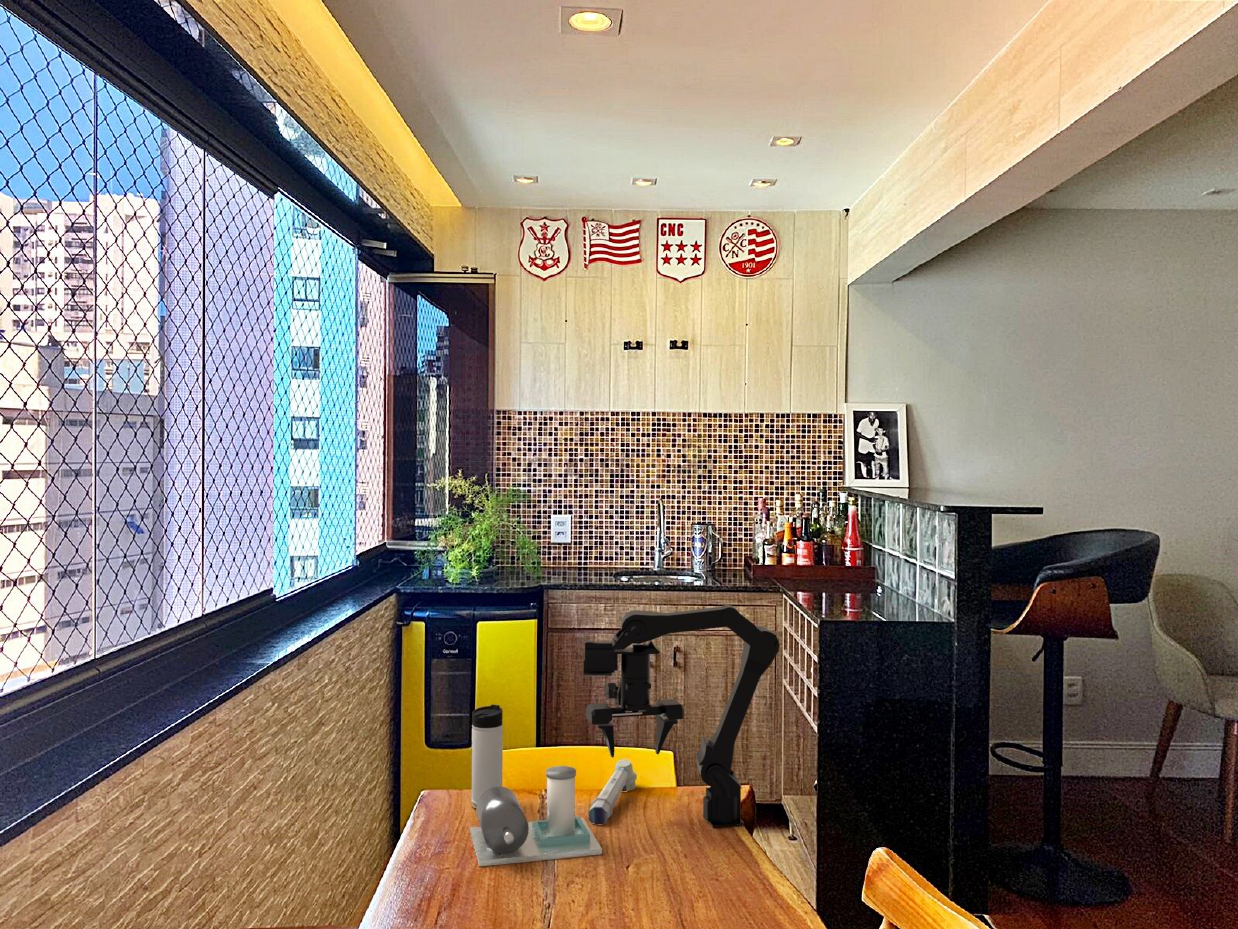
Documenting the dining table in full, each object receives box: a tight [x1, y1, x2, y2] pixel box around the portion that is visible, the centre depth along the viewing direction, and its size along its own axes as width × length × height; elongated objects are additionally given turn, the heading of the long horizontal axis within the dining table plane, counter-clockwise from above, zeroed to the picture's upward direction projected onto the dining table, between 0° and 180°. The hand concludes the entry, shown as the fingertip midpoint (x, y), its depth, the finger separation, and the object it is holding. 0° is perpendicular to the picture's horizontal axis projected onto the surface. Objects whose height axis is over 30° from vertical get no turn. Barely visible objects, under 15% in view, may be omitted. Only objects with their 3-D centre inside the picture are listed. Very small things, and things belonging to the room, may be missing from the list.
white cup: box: [545, 765, 577, 837], centre depth 177 cm, size 6×6×12 cm
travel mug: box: [471, 704, 504, 807], centre depth 196 cm, size 6×7×20 cm
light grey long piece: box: [587, 758, 638, 825], centre depth 197 cm, size 5×7×25 cm
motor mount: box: [469, 786, 603, 867], centre depth 175 cm, size 22×18×9 cm
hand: (634, 755), depth 187 cm, fingers open, 9 cm apart
